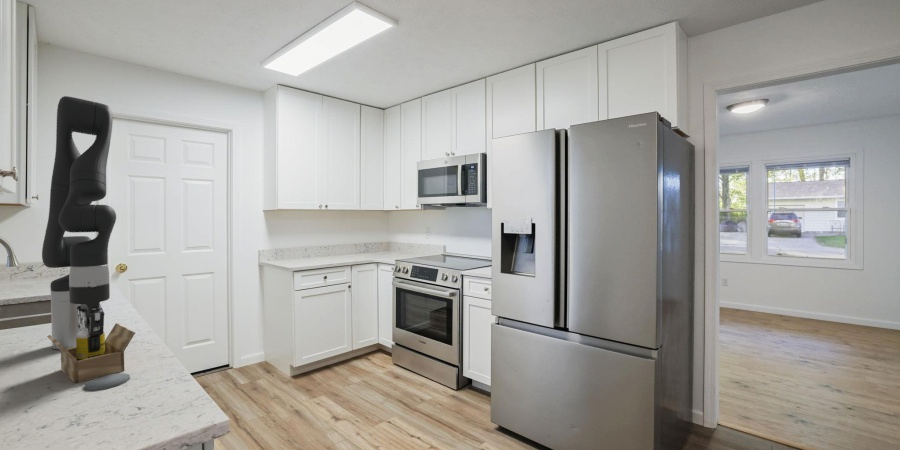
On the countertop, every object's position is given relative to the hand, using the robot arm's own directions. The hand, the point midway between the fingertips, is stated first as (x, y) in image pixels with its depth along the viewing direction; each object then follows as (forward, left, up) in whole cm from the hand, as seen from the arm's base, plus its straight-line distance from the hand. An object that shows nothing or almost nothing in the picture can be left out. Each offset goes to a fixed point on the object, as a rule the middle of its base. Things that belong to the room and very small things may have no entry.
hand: (91, 348), depth 100 cm
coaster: (+13, 0, -6) cm, 14 cm away
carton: (0, 0, -6) cm, 6 cm away
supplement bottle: (0, 0, -3) cm, 3 cm away
